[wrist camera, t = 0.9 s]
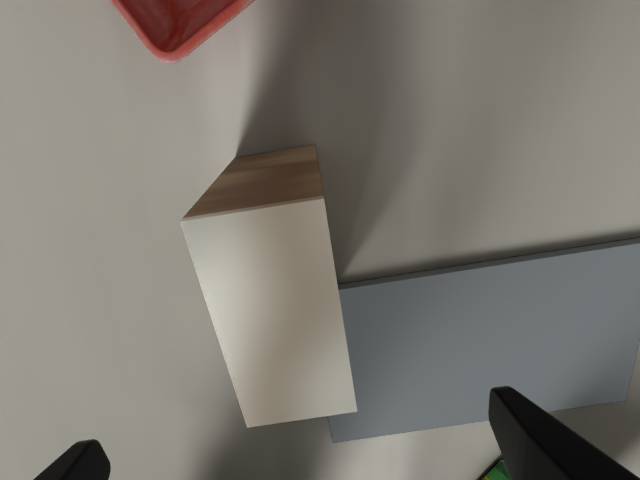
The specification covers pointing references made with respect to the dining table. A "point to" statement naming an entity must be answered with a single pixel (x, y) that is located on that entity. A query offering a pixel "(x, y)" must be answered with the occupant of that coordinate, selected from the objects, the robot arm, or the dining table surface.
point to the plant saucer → (176, 23)
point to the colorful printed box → (499, 472)
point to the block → (273, 286)
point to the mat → (490, 338)
